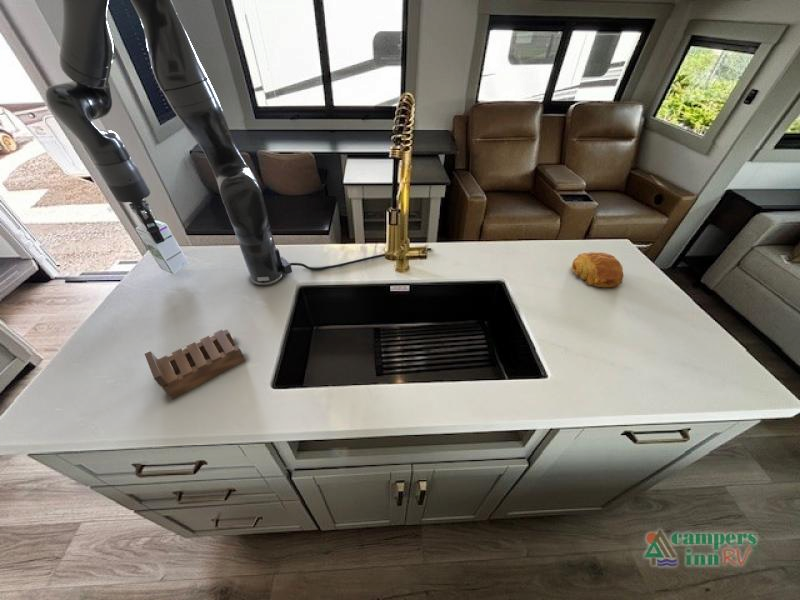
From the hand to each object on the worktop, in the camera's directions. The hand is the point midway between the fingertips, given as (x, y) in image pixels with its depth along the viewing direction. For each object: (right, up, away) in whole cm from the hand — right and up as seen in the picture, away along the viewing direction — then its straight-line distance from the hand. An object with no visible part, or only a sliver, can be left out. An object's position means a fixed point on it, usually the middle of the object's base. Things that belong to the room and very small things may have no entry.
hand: (156, 236), depth 91 cm
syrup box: (0, -8, +8) cm, 11 cm away
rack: (+23, -34, -15) cm, 44 cm away
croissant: (+133, -10, +15) cm, 134 cm away
